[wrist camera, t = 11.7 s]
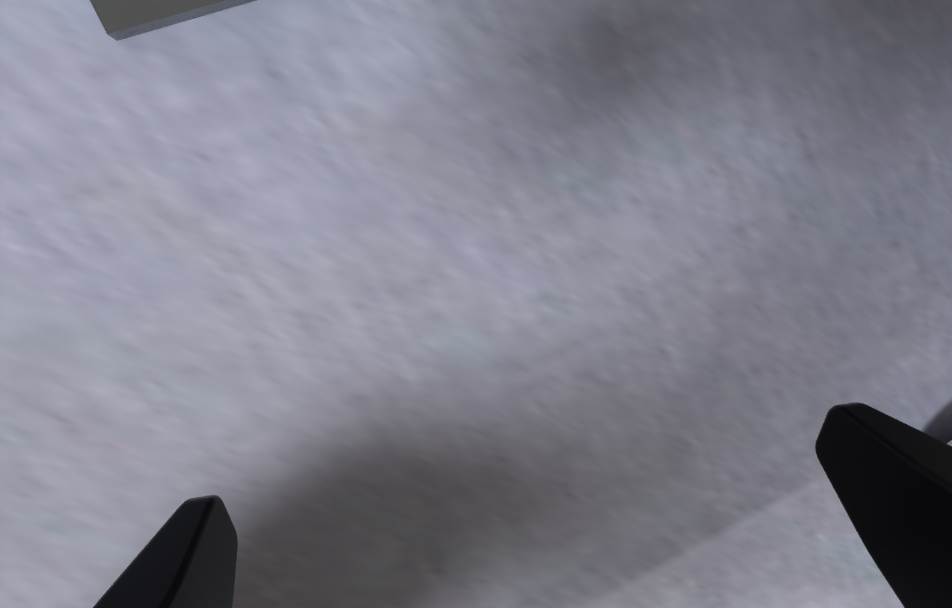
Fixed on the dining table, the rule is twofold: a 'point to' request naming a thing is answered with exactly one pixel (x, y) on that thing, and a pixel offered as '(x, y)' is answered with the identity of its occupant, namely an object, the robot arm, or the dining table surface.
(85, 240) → the dining table surface
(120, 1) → the duct collar
